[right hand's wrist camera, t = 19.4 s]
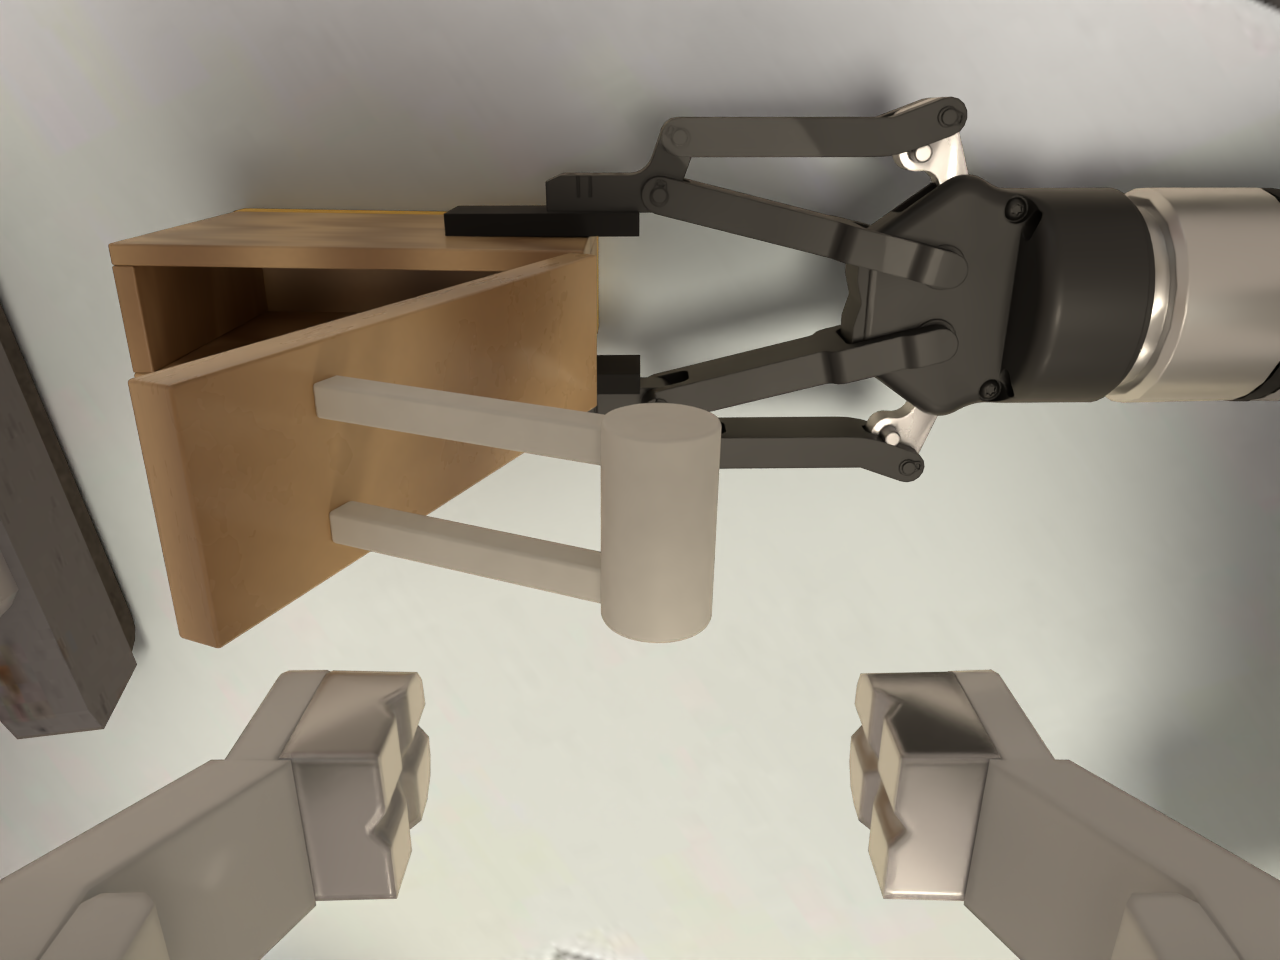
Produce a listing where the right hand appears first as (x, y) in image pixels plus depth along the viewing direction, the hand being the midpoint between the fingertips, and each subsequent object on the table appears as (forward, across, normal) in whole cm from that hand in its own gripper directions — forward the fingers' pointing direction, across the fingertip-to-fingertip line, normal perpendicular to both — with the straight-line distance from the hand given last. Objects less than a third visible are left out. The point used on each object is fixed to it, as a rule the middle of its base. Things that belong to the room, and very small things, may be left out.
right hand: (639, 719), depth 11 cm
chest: (+30, +9, 0) cm, 31 cm away
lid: (+12, +5, 0) cm, 13 cm away
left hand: (+24, +6, 0) cm, 25 cm away
